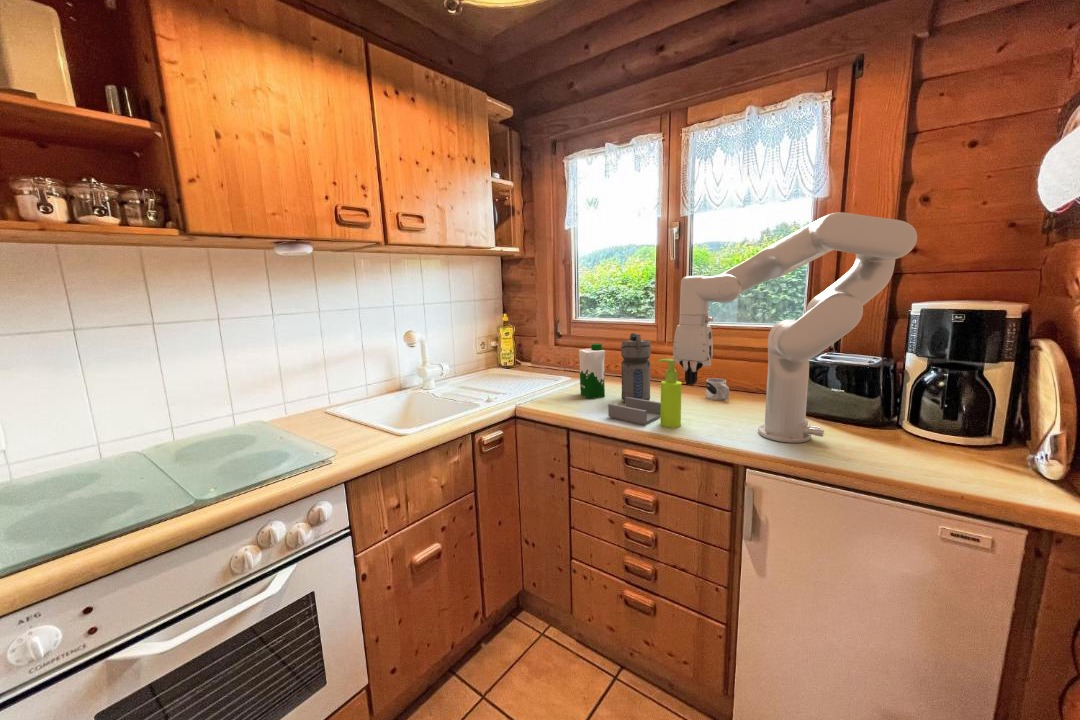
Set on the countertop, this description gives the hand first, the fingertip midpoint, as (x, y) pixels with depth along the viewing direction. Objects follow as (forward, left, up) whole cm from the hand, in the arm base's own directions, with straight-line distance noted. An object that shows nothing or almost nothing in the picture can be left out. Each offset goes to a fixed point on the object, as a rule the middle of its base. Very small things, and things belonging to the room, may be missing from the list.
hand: (690, 384), depth 123 cm
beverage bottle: (+28, -17, -14) cm, 35 cm away
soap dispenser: (+7, 0, -14) cm, 15 cm away
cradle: (+18, 0, -13) cm, 23 cm away
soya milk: (+45, -14, -14) cm, 49 cm away
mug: (+5, -36, -14) cm, 38 cm away
